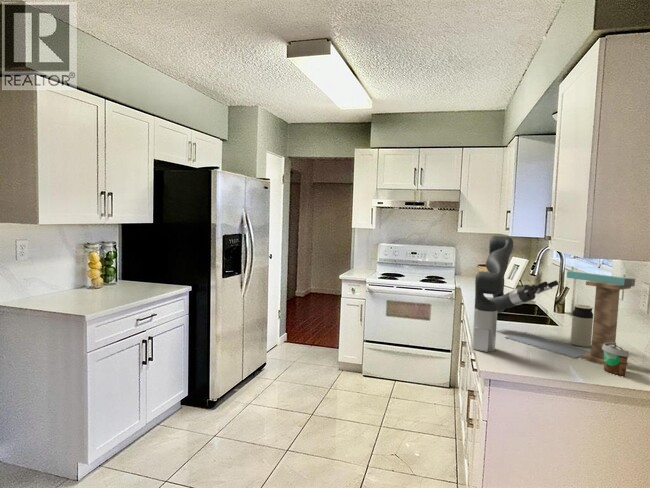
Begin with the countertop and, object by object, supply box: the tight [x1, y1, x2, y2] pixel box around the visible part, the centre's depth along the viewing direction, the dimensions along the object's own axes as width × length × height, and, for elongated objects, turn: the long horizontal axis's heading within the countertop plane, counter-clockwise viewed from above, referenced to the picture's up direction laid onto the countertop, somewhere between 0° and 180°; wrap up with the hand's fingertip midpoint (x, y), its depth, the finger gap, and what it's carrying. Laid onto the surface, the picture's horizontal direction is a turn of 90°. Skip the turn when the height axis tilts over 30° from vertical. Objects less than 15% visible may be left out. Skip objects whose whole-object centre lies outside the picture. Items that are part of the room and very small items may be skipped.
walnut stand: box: [580, 280, 632, 366], centre depth 164 cm, size 12×11×32 cm
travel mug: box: [570, 303, 594, 348], centre depth 186 cm, size 8×8×18 cm
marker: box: [566, 270, 636, 288], centre depth 166 cm, size 24×3×3 cm, turn 32°
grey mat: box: [504, 332, 591, 359], centre depth 184 cm, size 32×16×1 cm, turn 32°
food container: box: [602, 341, 630, 378], centre depth 153 cm, size 12×6×10 cm, turn 163°
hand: (552, 282), depth 183 cm, fingers open, 8 cm apart
